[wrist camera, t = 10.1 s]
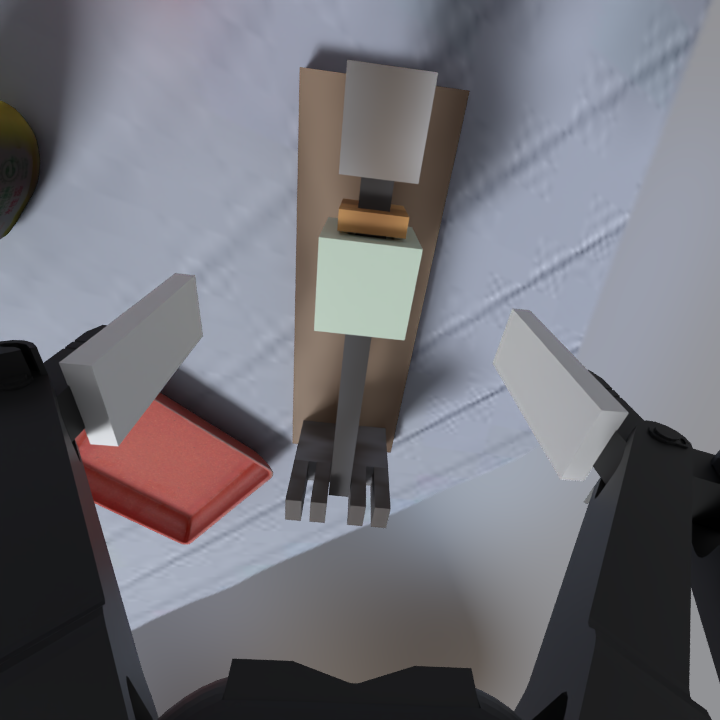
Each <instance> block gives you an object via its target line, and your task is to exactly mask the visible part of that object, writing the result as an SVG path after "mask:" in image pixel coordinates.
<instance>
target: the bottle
mask: <svg viewBox="0 0 720 720" xmlns="http://www.w3.org/2000/svg"><path fill="white" fill-rule="evenodd" d="M39 169H40V156H39V150H38V145H37V140H36V137H35V135H34V133H33V131H32V129H31V128H30V126H29V125H28V123H27V122H26V121H25V119H24V118H23V117H22V116H21V114H20V113H19V112H18V111H17V110H16V109H15V108H13V107H12V106H10V105H9V104H7V103H5V102H3V101H0V239H1V238H3V237H4V236H6V235H7V234H8V233H9V232H10V231H11V229H12V228H13V226H14V225H15V224H16V222H17V221H18V219H19V217H20V216H21V214H22V212H23V210H24V209H25V207H26V206H27V204H28V202H29V200H30V199H31V197H32V195H33V193H34V191H35V189H36V186H37V183H38V178H39Z"/></svg>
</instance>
